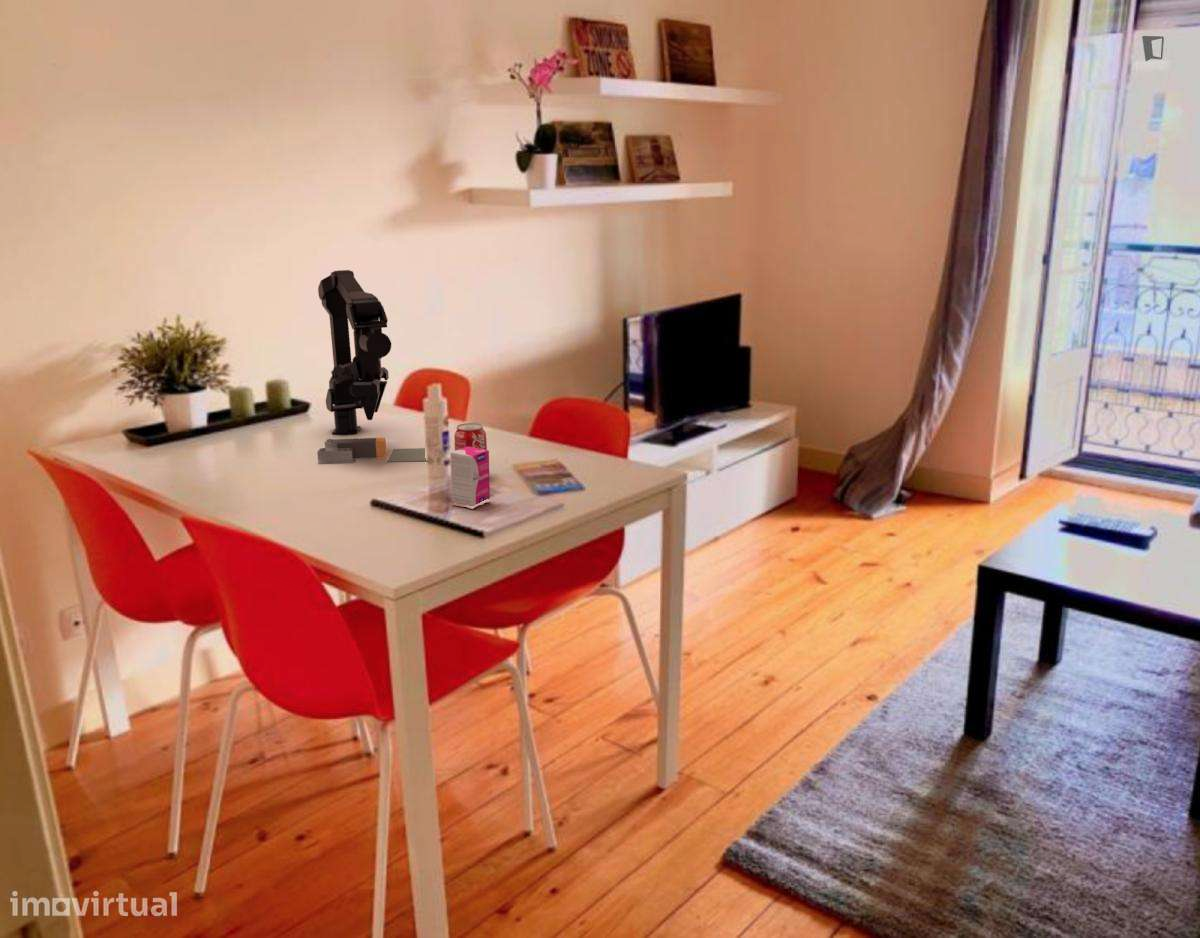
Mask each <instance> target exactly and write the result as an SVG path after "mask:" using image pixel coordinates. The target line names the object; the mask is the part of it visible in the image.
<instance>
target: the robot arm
mask: <svg viewBox="0 0 1200 938" xmlns="http://www.w3.org/2000/svg"><path fill="white" fill-rule="evenodd" d="M317 290H318V291H317V292H318V298H319V300H320V301H321V306H322V307H323V309H324V310H325V312H326V313H327V314H328V316H329V325H330V337H331V348H332V358H333V359H332V360H333V369H332V370H331V371H330V373H331V376H330V379H329V381H328V389H327V393H326V397H325V405H326V409H327V410H328V412H330V413H333V418H334V429H333V430H332V431H331V434H332V435H348V434H349V435H353V434H355V435H356V434H358V432H359V431H360V430H361V428H362V427H361V425H358V417H357V409H358V410H359V409H363V411H364V414H365V416H366V419H367V421H372V420H373V418H374V415H375V413H378V411H379V407H380V406H381V402H382V399H383V396H384V393H385V390H386V388H387V387H386V386H387V384H388V379H390V377H389V370H388V369H387V368H386V367H384V366H383V367H382V361H381V359H382V358H384V357H386V356H388V354H390V352H391V349H392V341H391V339H390V337H389V336H388V335H387V334H385V333H384V332H383V328H388V320H389V319H388V318H387V314H386V311H385V309H384V306H383V305H382V302H381V301H380V300H379V298H378V297H377V296H376V295H374V294H373V293H369V292H366V291H365V290H364V289H363V288H362V286H361V285H360V283H359V282H358V281H357V279H356V278H355V274H354V271H353V270H350V269H344V270H343V269H341V270H333V271H332V272H331V273H330V275H328V276H326V277H324V278H323V279H321V280H320V282H319V285H318V288H317ZM349 324H350V327H351V329H352V330H353V345H354V357H353V358H352V351H351V340H350V338H351V337H350V328H349ZM382 379H384V380H382Z"/></svg>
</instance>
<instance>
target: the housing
mask: <svg viewBox="0 0 1200 938" xmlns="http://www.w3.org/2000/svg"><path fill="white" fill-rule="evenodd" d="M339 439H340V438H338V439H336V438H333V439H332V438H329V439H326V440H325V441H324V447H322V448H319V449H318V450H317V453H316V454H317V462H318V465H319V464H320V465H321V464H322V465H323V464H324V465H325V464H326V465H328V464H330V465H331V464H354V461H355V456H354V448H350V447H348V448H337V442H338V440H339ZM353 439H357V437H356V438H353Z"/></svg>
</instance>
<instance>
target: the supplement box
mask: <svg viewBox="0 0 1200 938" xmlns="http://www.w3.org/2000/svg"><path fill="white" fill-rule="evenodd" d="M450 476H451V477H450V478H451V480H450V482H451V484H450V485H451V503H452V502H453V503H457V504H463V505H469V506H474V505H476V504H478V503H480V502H482V501H484V500H486V499H489V498H490V499H491V496H490V495H491V493H490V492H491V491H490V489H491V487H490V485H491V484H490V451H489V449H487V450H484V449H479V448H474V447H469V446H467V447H465V448H462V449H459V450H456V451H455V450H453V451H450Z"/></svg>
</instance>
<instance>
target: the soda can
mask: <svg viewBox="0 0 1200 938" xmlns="http://www.w3.org/2000/svg"><path fill="white" fill-rule="evenodd" d="M483 427H484V425H483V424H482V423H479V422H466V423H465V422H464V423H461V424H460V423H459V424H458V425H457V426H456V430H455V432H454V451H456V450H459V449H462V448H465V447H467V446H469V447H474V448H479V449H484V450H488V445H487V432H486V431H485V429H484V428H483Z"/></svg>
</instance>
